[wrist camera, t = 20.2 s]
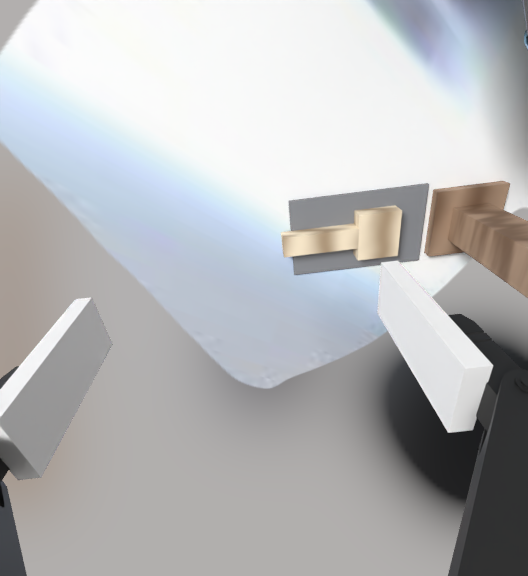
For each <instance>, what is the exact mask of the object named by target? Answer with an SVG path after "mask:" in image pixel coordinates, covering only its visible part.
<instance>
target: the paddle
mask: <svg viewBox="0 0 528 576" xmlns="http://www.w3.org/2000/svg"><path fill="white" fill-rule="evenodd" d="M401 218H402V210H401V209H400V208H398V207H397V206H396V205H394V206H386V207H378V208H370V209H361V210H354V223H353V224H345V225H337V226H328V227H320V228H312V229H304V230H296V231H288V232H281V237H282V248H283V254H284V257H291V256H300V255H308V254H316V253H325V252H333V251H341V250H349V249H353V254H354V256H355V257H356V259H357V260H358V261H359V260H367V259H375V258H384V257H392V256H398V248H399V238H400V228H401Z"/></svg>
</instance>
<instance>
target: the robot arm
mask: <svg viewBox="0 0 528 576" xmlns="http://www.w3.org/2000/svg"><path fill="white" fill-rule="evenodd" d="M522 3H523V9H524V16H525V23H526V31H525V34H524V42H525V46H526V47H527V49H528V0H522ZM377 313H378V315H379V317H380V318H381V320H382V322H383V323H384V325H385V327H386V328H387V330H388V332H389V333H390V335H391V337H392V339H393V340H394V342H395V343H396V345H397V347H398V348H399V350H400V352H401V354H402V355H403V357H404V359H405V360H406V362H407V364H408V366H409V367H410V369H411V371H412V372H413V374H414V376H415V377H416V379H417V381H418V382H419V384H420V386H421V387H422V389H423V391H424V392H425V394H426V396H427V398H428V399H429V401H430V403H431V404H432V406H433V408H434V409H435V411H436V413H437V414H438V416H439V418H440V419H441V421H442V423H443V425H444V426H445V428H446V429H447V431H448V433H450V432H459V431H468V430H473V428H474V425H475V421H476V418H478V420H479V421H480V422H481V424H482V425H483V427H484V428H485V430H484V432H483V436H482V438H481V441H480V444H479V447H478V450H479V452H478V456H477V460H476V464H475V468H474V472H473V476H472V480H471V485H470V488H469V492H468V496H467V501H466V505H465V509H464V513H463V517H462V521H461V525H460V529H459V533H458V537H457V541H456V545H455V549H454V553H453V558H452V562H451V566H450V570H449V574H448V576H528V370H524V369H521V368H520V367H519V366H518V365H517V364H516V363H515V362H514V361H513V360H512V359H511V358H510V357H509V356H508V355H507V354H506V353H505V352H504V351H503V350H502V349H501V348H500V347H499V346H498V345H497V344H496V343H495V342H494V341H492V340H491V338H490V337H489V336H488V335H487V334H486V333H484V331H483V330H482V329H481V328H480V327H479V326H478V325H477V324H476V323H475V322H474V321H472V320H471V319H469V318H467V317H465V316H463V315H462V314H455V315H447V314H446V313H445V312H444V311H443V309H442V308H441V307H440V306H439V305H438V304H437V303H436V302H435V300H434V299H433V298H432V297H431V296H430V295H429V294H428V293H427V292H426V291H425V289H424V288H423V287H422V286H421V285H420V284H419V283H418V282H417V281H416V279H415V278H414V277H413V276H412V275H411V274H410V273H409V272H408V271H407V270H406V268H405V267H404V266H403V265H402V264H401V263H400V262H399V261H390V262H381V271H380V284H379V298H378V312H377ZM112 345H113V344H112V341H111V339H110V337H109V335H108V332H107V330H106V328H105V326H104V323H103V321H102V319H101V317H100V315H99V312H98V310H97V308H96V305H95V304H94V301H93V299H92V298H83V299H75V301H74V302H73V303H72V304H71V305H70V307H69V308H68V309H67V310H66V311H65V313H64V314H63V315H62V316H61V317H60V318H59V320H58V321H57V322H56V323H55V324H54V326H53V327H52V328H51V329H50V330H49V332H48V333H47V334H46V335H45V336H44V338H43V339H42V340H41V341H40V342H39V344H38V345H37V346H36V347H35V348H34V350H33V351H32V352H31V353H30V354H29V355H28V357H27V358H26V359H25V360H24V362H23V363H22V364H21V365H20V366H18V367H15V368H14V369H13V370H11V371H10V372H9V373H7V374H6V375H5V376H3V377H2V378H1V379H0V576H27V575H26V571H25V566H24V562H23V557H22V553H21V548H20V544H19V539H18V535H17V530H16V526H15V521H14V517H13V512H12V508H11V503H10V499H9V494H8V489H7V486H6V485H5V484H4V482H3V481H2V479H3V478H4V476H5V475H6V473H7V471H8V470H10V471H11V473H12V474H13V475H14V476H15V477H16V478H17V479H18V480H23V479H32V478H41V477H42V475H43V473H44V471H45V469H46V467H47V466H48V464H49V462H50V460H51V458H52V456H53V455H54V453H55V451H56V449H57V447H58V445H59V443H60V442H61V440H62V438H63V436H64V434H65V432H66V430H67V428H68V427H69V425H70V423H71V421H72V419H73V417H74V415H75V413H76V412H77V410H78V408H79V406H80V404H81V402H82V400H83V399H84V397H85V395H86V393H87V391H88V389H89V387H90V386H91V384H92V382H93V380H94V378H95V376H96V374H97V372H98V371H99V369H100V367H101V365H102V363H103V361H104V359H105V358H106V356H107V354H108V352H109V350H110V348H111V346H112Z"/></svg>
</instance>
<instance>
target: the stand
mask: <svg viewBox="0 0 528 576" xmlns="http://www.w3.org/2000/svg"><path fill="white" fill-rule="evenodd" d="M509 186H510V183H508V182H505V181H499V182H491V183H483V184H475V185H467V186H459V187H451V188H442V189H434V190H433V196H432V203H431V210H430V217H429V224H428V231H427V238H426V245H425V252H424V253H426V254H427V255H428V256H437V255H445V254H453V253H462V252H465V253H467V254H468V255H469V256H471V257H472V258H473V259H475V260H476V261H478V262H479V263H480V264H482V265H483V266H484V267H486V268H487V269H489V270H490V271H491V272H493V273H494V274H495V275H497V276H498V277H500V278H501V279H502V280H504V281H505V282H506V283H508V284H509V285H510V286H512V287H513V288H515V289H516V290H517V291H519V292H520V293H522V294H523V295H524V296H526V297H527V298H528V221H526V220H524V219H522V218H520V217H517V216H515V215H513V214H511V213H509V212H506V211H504V210H503V209H504V205H505V201H506V198H507V194H508V190H509Z"/></svg>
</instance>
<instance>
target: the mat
mask: <svg viewBox="0 0 528 576" xmlns="http://www.w3.org/2000/svg"><path fill="white" fill-rule="evenodd" d="M428 186H429V184H428V183H427V184H419V185H411V186H403V187H395V188H387V189H379V190H371V191H363V192H355V193H347V194H339V195H331V196H323V197H315V198H307V199H299V200H291V201H289V212H290V225H291V231H296V230H304V229H312V228H320V227H328V226H337V225H345V224H353V223H354V210H361V209H370V208H378V207H386V206H394V205H396V206H397V207H398V208H400V209H401V210H402V218H401V228H400V238H399V248H398V256H392V257H384V258H375V259H367V260H359V261H358V260H357V259H356V257H355V256H354V254H353V249H349V250H341V251H333V252H325V253H316V254H308V255H300V256H293V265H294V275H297V274H306V273H314V272H322V271H330V270H339V269H347V268H355V267H364V266H372V265H380V264H381V262H390V261H399V262H405V261H413V260H419V252H420V245H421V238H422V230H423V223H424V216H425V208H426V201H427V194H428Z"/></svg>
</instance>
